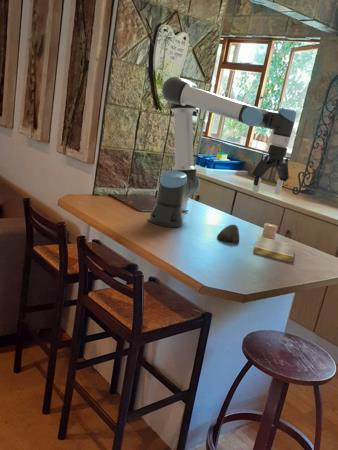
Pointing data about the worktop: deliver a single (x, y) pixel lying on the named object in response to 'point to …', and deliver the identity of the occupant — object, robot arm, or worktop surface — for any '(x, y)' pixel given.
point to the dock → (274, 249)
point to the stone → (229, 234)
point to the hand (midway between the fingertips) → (266, 193)
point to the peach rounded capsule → (269, 231)
